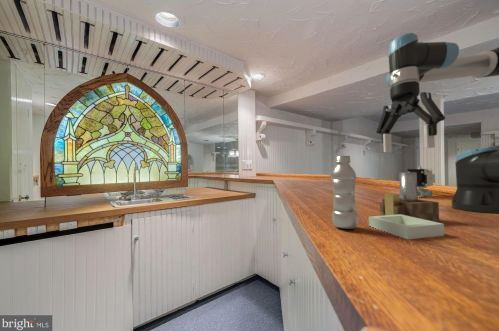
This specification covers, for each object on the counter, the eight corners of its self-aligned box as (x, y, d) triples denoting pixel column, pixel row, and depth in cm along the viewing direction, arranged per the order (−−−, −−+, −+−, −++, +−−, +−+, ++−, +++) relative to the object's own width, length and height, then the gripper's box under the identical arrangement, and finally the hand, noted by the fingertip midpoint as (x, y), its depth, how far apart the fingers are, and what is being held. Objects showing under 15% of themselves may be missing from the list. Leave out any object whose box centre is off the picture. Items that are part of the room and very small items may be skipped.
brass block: (391, 218, 64) (390, 193, 64) (400, 220, 61) (399, 194, 61) (385, 218, 63) (384, 193, 64) (393, 220, 61) (392, 194, 61)
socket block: (406, 215, 70) (405, 197, 70) (439, 222, 60) (438, 202, 60) (375, 217, 67) (374, 199, 67) (404, 225, 57) (403, 204, 57)
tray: (400, 223, 59) (400, 214, 59) (444, 235, 48) (443, 223, 48) (369, 226, 56) (368, 216, 56) (407, 239, 46) (407, 227, 46)
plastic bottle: (348, 233, 51) (345, 155, 51) (326, 226, 57) (325, 156, 57) (363, 229, 54) (361, 155, 54) (341, 223, 60) (340, 157, 60)
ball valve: (426, 199, 103) (425, 165, 103) (406, 198, 110) (405, 166, 110) (437, 196, 113) (436, 165, 113) (418, 195, 120) (417, 166, 120)
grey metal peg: (408, 217, 66) (406, 172, 67) (422, 220, 62) (420, 172, 62) (397, 218, 65) (395, 172, 66) (410, 221, 61) (408, 172, 61)
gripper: (364, 98, 76) (366, 153, 76) (439, 63, 52) (442, 144, 51) (380, 99, 78) (382, 153, 77) (460, 66, 53) (464, 145, 53)
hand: (406, 150), depth 64 cm, fingers open, 13 cm apart
